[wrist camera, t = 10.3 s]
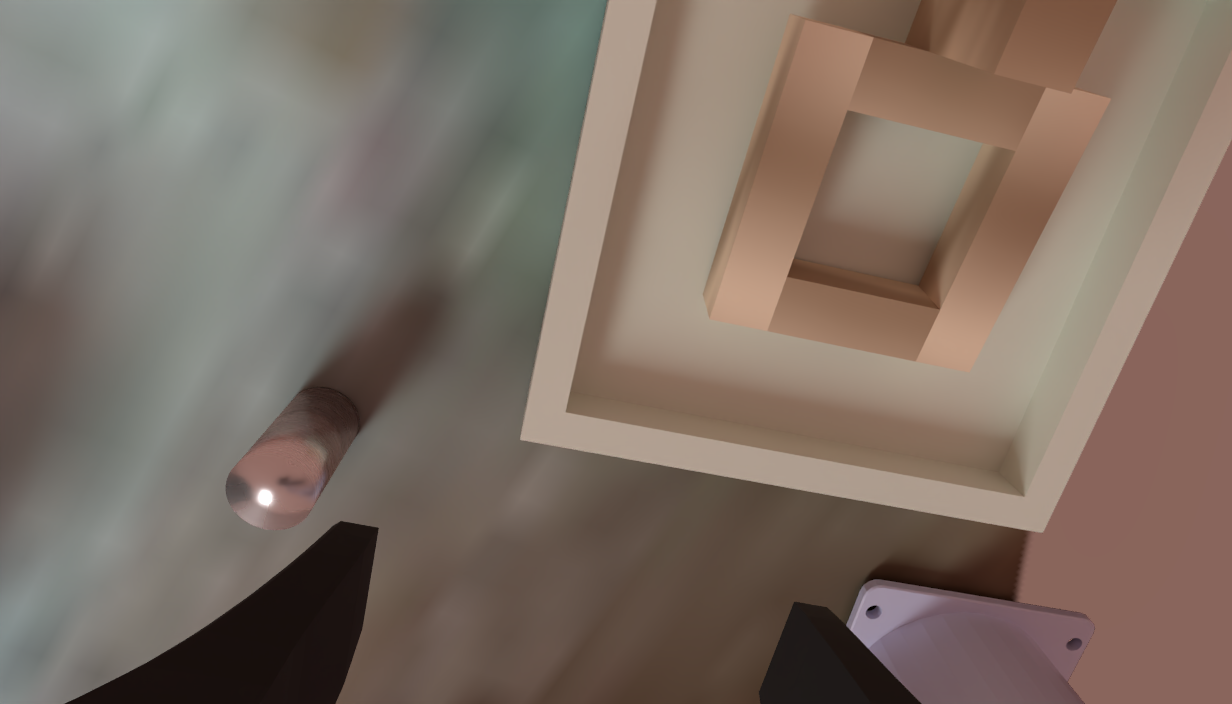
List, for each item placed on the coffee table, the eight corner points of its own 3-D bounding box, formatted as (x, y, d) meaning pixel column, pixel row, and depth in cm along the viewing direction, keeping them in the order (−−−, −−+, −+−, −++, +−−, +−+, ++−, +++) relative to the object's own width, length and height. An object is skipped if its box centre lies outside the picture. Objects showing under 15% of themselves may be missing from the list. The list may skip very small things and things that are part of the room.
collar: (946, 345, 21) (1025, 439, 17) (702, 294, 20) (726, 381, 16) (1143, -56, 16) (1314, -54, 12) (838, -143, 16) (918, -170, 12)
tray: (1006, 496, 24) (1042, 533, 22) (525, 407, 22) (520, 439, 20) (1244, -31, 19) (1318, -42, 17) (647, -201, 17) (656, -234, 15)
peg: (355, 456, 22) (310, 536, 18) (284, 445, 22) (223, 522, 18) (363, 394, 21) (317, 463, 18) (289, 381, 21) (228, 448, 17)
